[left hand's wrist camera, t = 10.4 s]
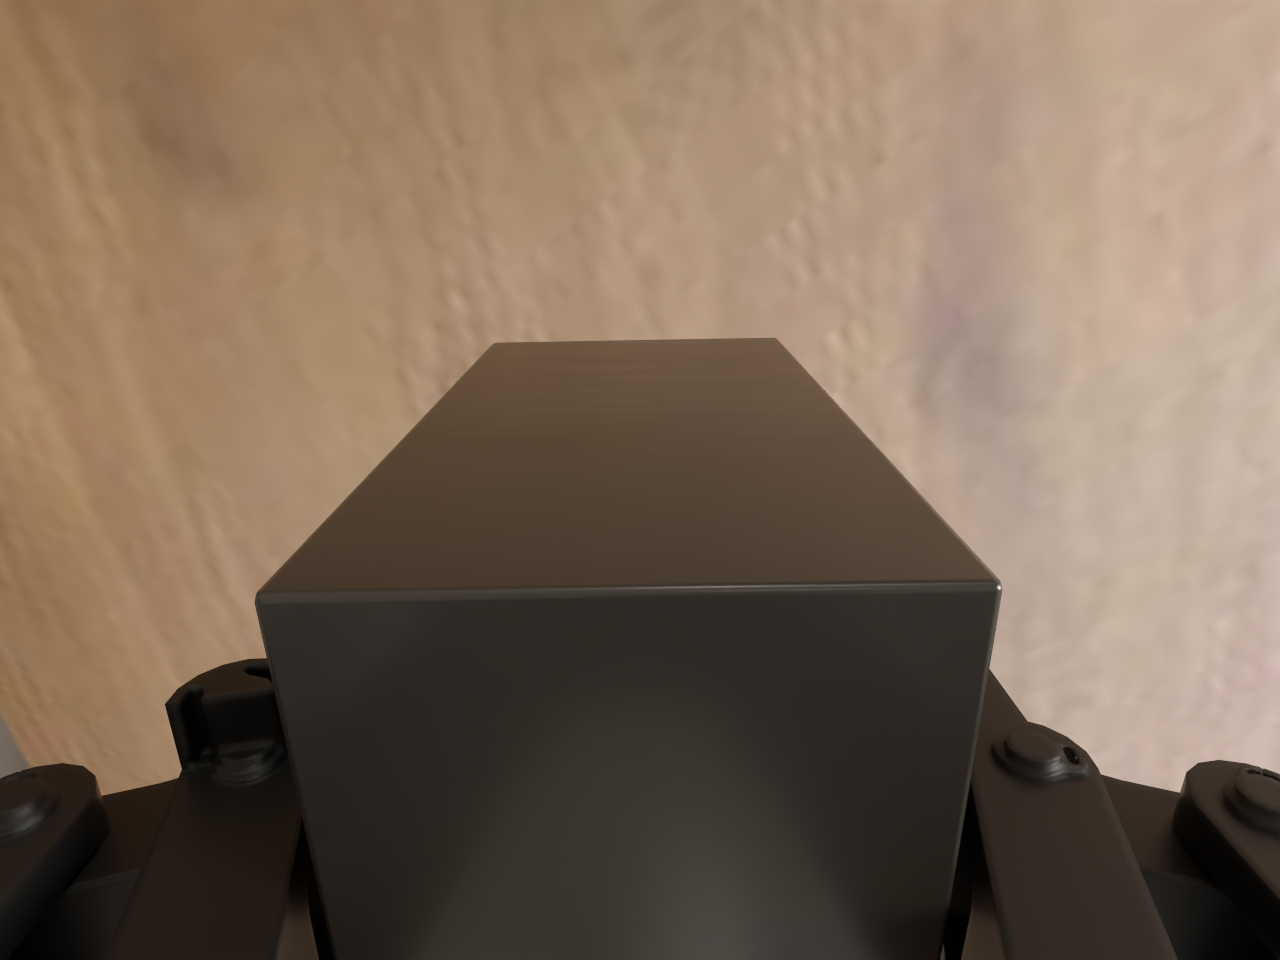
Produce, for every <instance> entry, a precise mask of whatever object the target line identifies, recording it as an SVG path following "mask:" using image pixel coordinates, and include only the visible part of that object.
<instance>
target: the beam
mask: <svg viewBox="0 0 1280 960" xmlns="http://www.w3.org/2000/svg"><path fill="white" fill-rule="evenodd" d="M1001 594H1002V586H1001V583H1000V580H999V579H998V578H997V577H996V576H995V575H994V574H993V573H992V571H991V570H990V569H989V568H988V567H987V566H986V565H985V564H984V563H983V562H982V561H981V560H980V558H979V557H978V556H977V555H976V554H975V553H974V552H973V551H972V550H971V549H970V548H969V546H968V545H967V544H966V543H965V542H964V541H963V540H962V539H961V538H960V537H959V536H958V535H957V533H956V532H955V531H954V530H953V529H952V528H951V527H950V526H949V525H948V524H947V523H946V522H945V520H944V519H943V518H942V517H941V516H940V515H939V514H938V513H937V512H936V511H935V510H934V509H933V507H932V506H931V505H930V504H929V503H928V502H927V501H926V500H925V499H924V498H923V497H922V496H921V494H920V493H919V492H918V491H917V490H916V489H915V488H914V487H913V486H912V485H911V484H910V483H909V481H908V480H907V479H906V478H905V477H904V476H903V475H902V474H901V473H900V472H899V471H898V469H897V468H896V467H895V466H894V465H893V464H892V463H891V462H890V461H889V460H888V459H887V458H886V456H885V455H884V454H883V453H882V452H881V451H880V450H879V449H878V448H877V447H876V446H875V445H874V443H873V442H872V441H871V440H870V439H869V438H868V437H867V436H866V435H865V434H864V433H863V432H862V430H861V429H860V428H859V427H858V426H857V425H856V424H855V423H854V422H853V421H852V420H851V419H850V417H849V416H848V415H847V414H846V413H845V412H844V411H843V410H842V409H841V408H840V407H839V406H838V404H837V403H836V402H835V401H834V400H833V399H832V398H831V397H830V396H829V395H828V394H827V392H826V391H825V390H824V389H823V388H822V387H821V386H820V385H819V384H818V383H817V382H816V381H815V379H814V378H813V377H812V376H811V375H810V374H809V373H808V372H807V371H806V370H805V369H804V368H803V366H802V365H801V364H800V363H799V362H798V361H797V360H796V359H795V358H794V357H793V356H792V355H791V353H790V352H789V351H788V350H787V349H786V348H785V347H784V346H783V345H782V344H781V343H780V342H779V340H778V339H776V338H736V339H681V340H626V341H571V342H516V343H494V344H493V345H492V346H491V347H490V348H489V349H488V350H487V351H486V352H485V353H484V354H483V355H482V356H481V357H480V358H479V359H478V360H477V361H476V362H475V364H474V365H473V366H472V367H471V368H470V369H469V370H468V371H467V372H466V373H465V374H464V375H463V376H462V377H461V378H460V379H459V380H458V381H457V382H456V384H455V385H454V386H453V387H452V388H451V389H450V390H449V391H448V392H447V393H446V394H445V395H444V396H443V397H442V398H441V399H440V400H439V401H438V402H437V403H436V405H435V406H434V407H433V408H432V409H431V410H430V411H429V412H428V413H427V414H426V415H425V416H424V417H423V418H422V419H421V420H420V421H419V422H418V423H417V425H416V426H415V427H414V428H413V429H412V430H411V431H410V432H409V433H408V434H407V435H406V436H405V437H404V438H403V439H402V440H401V441H400V442H399V443H398V445H397V446H396V447H395V448H394V449H393V450H392V451H391V452H390V453H389V454H388V455H387V456H386V457H385V458H384V459H383V460H382V461H381V462H380V463H379V465H378V466H377V467H376V468H375V469H374V470H373V471H372V472H371V473H370V474H369V475H368V476H367V477H366V478H365V479H364V480H363V481H362V482H361V483H360V485H359V486H358V487H357V488H356V489H355V490H354V491H353V492H352V493H351V494H350V495H349V496H348V497H347V498H346V499H345V500H344V501H343V502H342V503H341V505H340V506H339V507H338V508H337V509H336V510H335V511H334V512H333V513H332V514H331V515H330V516H329V517H328V518H327V519H326V520H325V521H324V522H323V523H322V525H321V526H320V527H319V528H318V529H317V530H316V531H315V532H314V533H313V534H312V535H311V536H310V537H309V538H308V539H307V540H306V541H305V542H304V543H303V545H302V546H301V547H300V548H299V549H298V550H297V551H296V552H295V553H294V554H293V555H292V556H291V557H290V558H289V559H288V560H287V561H286V562H285V563H284V565H283V566H282V567H281V568H280V569H279V570H278V571H277V572H276V573H275V574H274V575H273V576H272V577H271V578H270V579H269V580H268V581H267V582H266V583H265V585H264V586H263V587H262V588H261V589H260V590H259V591H258V592H257V594H256V598H255V606H256V611H257V615H258V620H259V624H260V629H261V633H262V638H263V642H264V647H265V651H266V656H267V660H268V665H269V669H270V674H271V678H272V683H273V688H274V692H275V697H276V701H277V706H278V710H279V715H280V719H281V724H282V728H283V733H284V737H285V742H286V746H287V751H288V755H289V760H290V764H291V769H292V773H293V778H294V782H295V787H296V791H297V796H298V800H299V805H300V809H301V814H302V819H303V823H304V828H305V832H306V837H307V841H308V846H309V850H310V855H311V859H312V864H313V868H314V873H315V877H316V882H317V886H318V891H319V895H320V900H321V904H322V909H323V913H324V918H325V922H326V927H327V931H328V936H329V941H330V945H331V950H332V954H333V959H334V960H940V959H941V953H942V947H943V941H944V935H945V929H946V923H947V917H948V911H949V905H950V899H951V893H952V887H953V881H954V875H955V869H956V863H957V857H958V852H959V846H960V840H961V834H962V828H963V822H964V816H965V810H966V804H967V798H968V792H969V786H970V780H971V774H972V768H973V762H974V756H975V750H976V744H977V738H978V732H979V726H980V720H981V714H982V708H983V702H984V696H985V690H986V684H987V678H988V672H989V666H990V660H991V654H992V648H993V642H994V636H995V630H996V624H997V618H998V612H999V606H1000V600H1001Z"/></svg>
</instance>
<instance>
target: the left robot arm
mask: <svg viewBox="0 0 1280 960" xmlns="http://www.w3.org/2000/svg"><path fill="white" fill-rule="evenodd" d="M165 706H166V710H167V714H168V718H169V722H170V725H171V729H172V733H173V737H174V741H175V744H176V748H177V752H178V756H179V760H180V763H181V767H182V771H181V773H180V776H179V778H177V779H174V780H170V781H166V782H163V783H159V784H155V785H150V786H145V787H141V788H136V789H132V790H127V791H122V792H118V793H113V794H109V795H104V796H101V793H100V789H99V786H98V783H97V780H96V777H95V775H94V774H93V773H91V772H90V771H89V770H88V769H86V768H85V767H84V766H78V765H71V764H64V763H61V764H53V765H46V766H38V767H33V768H30V769H26V770H22V771H21V772H16V773H13V774H11V775H8V776H5V777H3V778H1V779H0V960H334V959H333V954H332V950H331V945H330V941H329V936H328V931H327V927H326V922H325V918H324V913H323V909H322V904H321V900H320V895H319V891H318V886H317V882H316V877H315V873H314V868H313V864H312V859H311V855H310V850H309V846H308V841H307V837H306V832H305V828H304V823H303V819H302V814H301V809H300V805H299V800H298V796H297V791H296V787H295V782H294V778H293V773H292V769H291V764H290V760H289V755H288V751H287V746H286V742H285V737H284V733H283V728H282V724H281V719H280V715H279V710H278V706H277V701H276V697H275V692H274V688H273V683H272V678H271V674H270V669H269V665H268V660H267V658H264V659H247V660H242V661H238V662H233V663H229V664H225V665H221V666H219V667H217V668H214V669H212V670H209V671H207V672H205V673H202V674H200V675H198V676H196V677H195V678H193V679H192V680H190V681H189V682H187V683H186V684H184V685H183V686H181V687H180V688H178V689H177V690H176V692H175V693H174V694H173V695H172V696H171V698H170V699H169V700H168V701H167V702H166V704H165ZM940 960H1280V774H1278V773H1275V772H1272V771H1269V770H1267V769H1262V768H1260V767H1257V766H1253V765H1249V764H1245V763H1238V762H1230V761H1223V760H1216V761H1209V762H1202V763H1198V764H1196V765H1195V766H1194V767H1193V768H1191V769H1190V770H1189V771H1188V772H1186V776H1185V779H1184V782H1183V785H1182V788H1181V792H1180V793H1178V792H1173V791H1169V790H1164V789H1159V788H1155V787H1150V786H1145V785H1141V784H1136V783H1132V782H1127V781H1122V780H1119V779H1115V778H1112V777H1108V776H1104V775H1101V774H1100V772H1099V769H1098V768H1097V766H1096V765H1095V763H1094V762H1093V760H1092V759H1091V758H1090V756H1089V755H1088V753H1087V752H1086V751H1085V750H1083V749H1082V748H1081V747H1080V746H1078V745H1077V744H1076V743H1074V742H1073V741H1072V740H1070V739H1069V738H1068V737H1066V736H1064V735H1062V734H1060V733H1058V732H1056V731H1054V730H1052V729H1049V728H1047V727H1045V726H1043V725H1039V724H1035V723H1031V722H1027V720H1026V719H1025V717H1024V716H1023V715H1022V713H1021V712H1020V711H1019V709H1018V708H1017V706H1016V705H1015V704H1014V702H1013V701H1012V699H1011V698H1010V697H1009V695H1008V694H1007V693H1006V691H1005V690H1004V688H1003V687H1002V686H1001V684H1000V683H999V682H998V680H997V679H996V677H995V676H994V675H993V673H992V672H991V671H990V669H989V672H988V678H987V684H986V690H985V696H984V702H983V708H982V714H981V720H980V726H979V732H978V738H977V744H976V750H975V756H974V762H973V768H972V774H971V780H970V786H969V792H968V798H967V804H966V810H965V816H964V822H963V828H962V834H961V840H960V846H959V852H958V857H957V863H956V869H955V875H954V881H953V887H952V893H951V899H950V905H949V911H948V917H947V923H946V929H945V935H944V941H943V947H942V953H941V959H940Z"/></svg>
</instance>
